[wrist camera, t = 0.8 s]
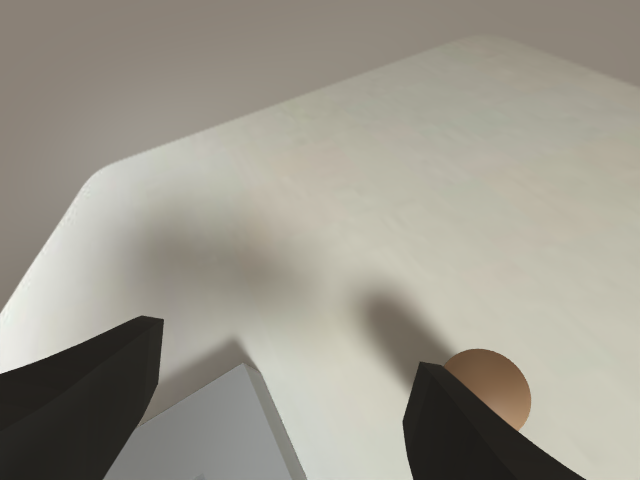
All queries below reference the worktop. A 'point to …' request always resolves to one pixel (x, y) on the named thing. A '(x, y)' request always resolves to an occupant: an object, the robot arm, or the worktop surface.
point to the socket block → (213, 437)
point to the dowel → (494, 383)
